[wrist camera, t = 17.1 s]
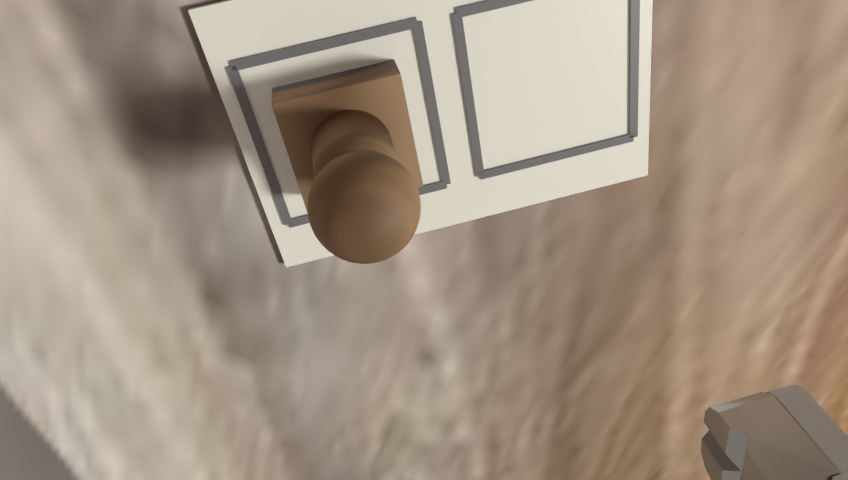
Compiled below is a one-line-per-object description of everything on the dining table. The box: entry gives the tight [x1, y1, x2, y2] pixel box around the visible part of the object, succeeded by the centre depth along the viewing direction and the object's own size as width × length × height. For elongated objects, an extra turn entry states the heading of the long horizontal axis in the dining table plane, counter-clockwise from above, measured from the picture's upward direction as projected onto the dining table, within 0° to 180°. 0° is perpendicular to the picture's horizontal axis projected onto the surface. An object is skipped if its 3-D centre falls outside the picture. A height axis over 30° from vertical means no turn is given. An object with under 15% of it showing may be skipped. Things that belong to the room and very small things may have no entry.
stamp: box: [271, 59, 423, 264], centre depth 23 cm, size 5×5×8 cm
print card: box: [188, 0, 653, 267], centre depth 27 cm, size 18×12×1 cm, turn 100°
